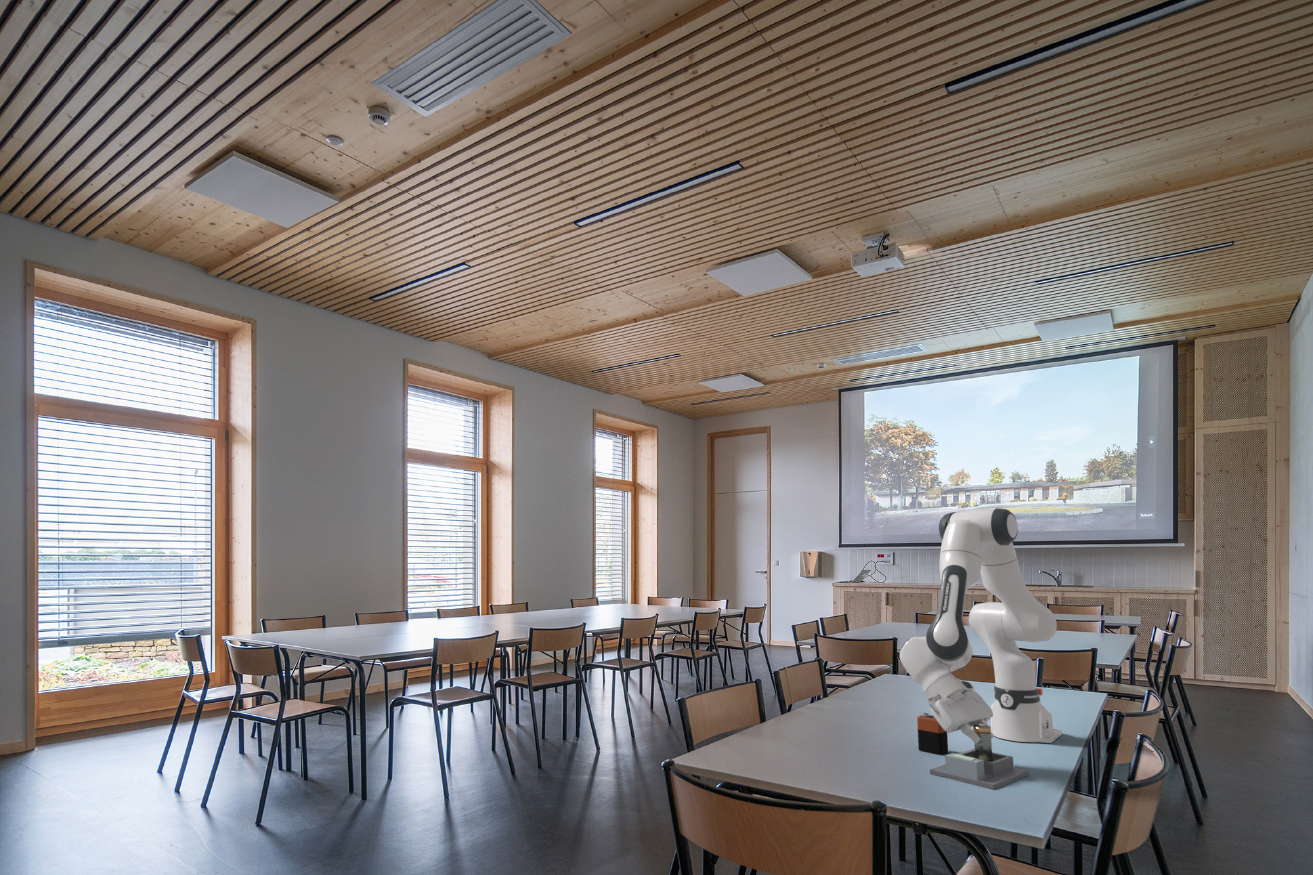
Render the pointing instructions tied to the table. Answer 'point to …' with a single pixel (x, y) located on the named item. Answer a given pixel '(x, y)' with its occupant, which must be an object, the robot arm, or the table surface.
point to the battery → (931, 735)
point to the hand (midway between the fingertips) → (985, 740)
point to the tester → (980, 769)
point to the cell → (983, 742)
